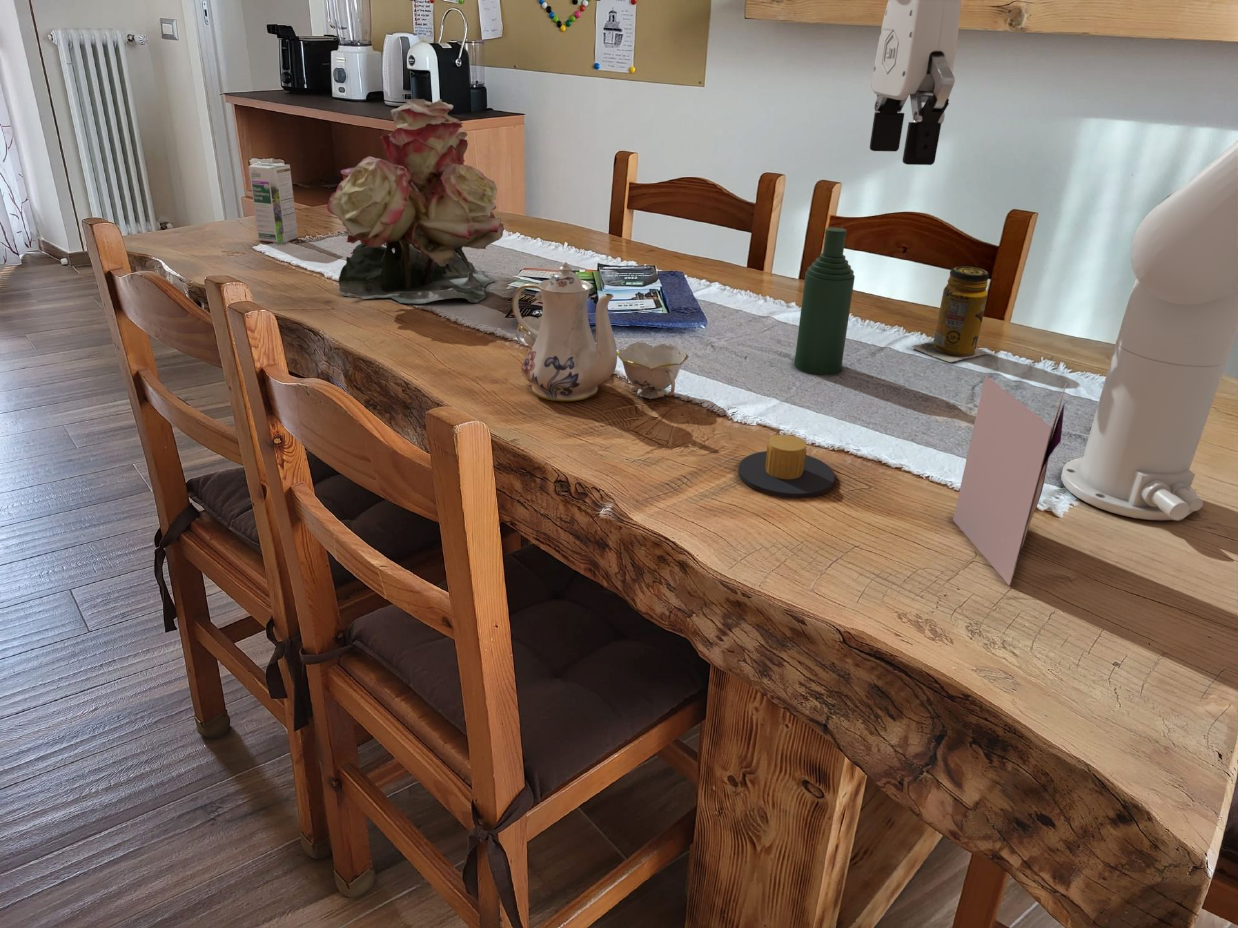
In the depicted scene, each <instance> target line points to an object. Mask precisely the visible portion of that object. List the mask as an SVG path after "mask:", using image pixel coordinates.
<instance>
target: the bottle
mask: <svg viewBox="0 0 1238 928" xmlns="http://www.w3.org/2000/svg"><path fill="white" fill-rule="evenodd" d="M847 233H848V231H847V229H846V228H842V227H834V226H831V227H829V226H828V227H826V228H825V231H824V241H823V249H822V253H820V254H819V256H818V257H816V258H815V260H814V261H813V262H811V265H809V266H808V267H807V270H806V271H805V274H804V283H803V290H802V291H803V292H802V297H801V298H802V299H801V306H800V307H801V308H800V315H799V323H798V331H797V337H796V338H797V340H796V347H795V356H794V367H795V369H797V370H798V371H801V372H803V373H805V374H810V375H815V376H816V375H818V376H829V375H831V376H832V375H835V374H838V373H840V372H841V371H842V365H843V358H844V351H845V345H846V340H847V331H848V325H849V320H850V319H849V318H850V311H851V304H852V299H853V298H852V297H853V291H854V285H855V278H856V276H855V275H854V274H855V272H854V270H853V268H852V266H851V265H850V264H849V260H848V259H846V255H845V254H844V251H845V245H846V244H845V243H846V237H847Z"/></svg>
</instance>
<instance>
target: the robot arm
mask: <svg viewBox="0 0 1238 928" xmlns="http://www.w3.org/2000/svg"><path fill="white" fill-rule="evenodd" d="M961 7H962V0H888V1H887V4H886V8H885V11H884V15H883V19H882V24H881V29H880V33H879V38H878V42H877V43H878V44H877V48H876V54H875V59H874V66H873V71H872V77H871V84H870V88H871V90H872V92H873V94H875V95H876V100H875V102H874V115H873V122H872V129H871V135H870V141H869V149H870V151H872V152H898V151H899V150H900V146H901V145H900V144H901V138H902V132H903V127H904V126H903V125H904V120H905V113H904V112H902V110H903V108H904V107H905V104H906V102H907V101H908V98H909V99H910V100H909V101H910V105H911V107H910V108H911V114H912V115H911V116H912V121H908V124H907V131H906V136H905V141H904V142H905V143H904V148H903V155H902V163H903V164H904V165H909V166H932V165H934V164H935V161H936V156H937V150H938V145H939V140H940V133H941V128H942V124H943V123H944V120H945V117H946V116H945V111H946V109H947V108H948V106H949V104H950V103H949V101H950V98H949V97H950V95H951V93H952V91H953V87H954V85H955V81H956V80H955V79H956V78H955V76H954V74H953V71H954V65H955V59H956V53H957V46H958V38H959V31H960V29H959V28H960V21H961ZM923 103H924V104H923ZM1130 262H1131V263H1130V264H1131V268H1132V271H1133V274H1134V276H1135V280H1134V283H1133V286H1132V289H1131V291H1130V295H1129V298H1128V302H1127V304H1126V308H1125V311H1124V314H1123V316H1122V317H1123V318H1122V320H1121V325H1120V328H1119V331H1118V335H1117V338H1116V341H1115V344H1114V346H1113V347H1114V348H1113V351H1112V355H1111V358H1110V361H1109V366H1108V369H1107V372H1106V375H1105V379H1104V382H1103V385H1102V390H1101V393H1100V397H1099V400H1098V404H1097V407H1096V410H1095V414H1094V417H1093V421H1092V424H1091V429H1090V431H1089V434H1088V438H1087V442H1086V445H1085V449H1084V453H1083V456H1081V457H1077V458H1075V459H1071V460H1069V461H1068V462H1066V463H1065V465H1064V466H1063V468H1062V471H1061V475H1060V478H1061V483H1062V484H1063V486H1064V487H1065V488H1066V489H1067V490H1068V491H1069V493H1071V494H1072V495H1073V496H1075V497H1076V498H1077V499H1080V500H1081V501H1083V502H1085V503H1087V504H1089V505H1091V506H1093V507H1096V508H1097V509H1101V510H1103V511H1105V512H1109V513H1112V514H1116V515H1119V516H1124V517H1129V518H1133V519H1137V520H1138V519H1139V520H1147V521H1182V520H1184V519H1185V518H1186V517H1187V516H1189V515H1191V514H1192V513H1194V512H1196V511H1197V512H1198V511H1199V510H1201V509H1202V507H1204V501H1203V499H1202V498H1200V497H1198V495H1197V492H1196V491H1195V490H1194V488H1193V487H1192V484H1193V482H1194V478H1195V476H1196V473H1194V472H1193V471H1191V470H1190V469H1191V466H1192V463H1193V460H1194V457H1195V455H1196V452H1197V449H1198V446H1199V443H1200V440H1201V438H1202V435H1203V431H1204V429H1205V426H1206V423H1207V420H1208V418H1209V413H1210V411H1211V409H1212V405H1213V402H1214V399H1215V397H1216V394H1217V391H1218V388H1219V385H1220V382H1221V380H1222V377H1223V374H1224V371H1225V368H1226V365H1227V363H1228V361H1229V358H1230V355H1231V352H1232V349H1233V347H1234V343H1235V341H1236V338H1237V335H1238V140H1237V141H1235V142H1234V143H1232V145H1230V146H1229V147H1228V148H1226V150H1224V151H1223V152H1222V153H1221V154H1219V155H1218V156H1217V157H1215V158H1214V159H1213V160H1212V161H1211V162H1210V163H1208V164H1207V165H1205V167H1203V168H1202V169H1201V170H1200V171H1198V172H1197V173H1195V175H1193V177H1191V178H1190V179H1189V180H1187V181H1186V182H1185V183H1184V184H1183V185H1181V186H1180V187H1178V188H1177V189H1175V190H1174V191H1172V192H1171V193H1170V194H1169V195H1167V196H1166V197H1165V198H1163V199H1162V200H1161V201H1160V202H1159V203H1158V204H1157V205H1156V206H1154V208H1152V209H1151V210H1150V211H1149V212H1148V213H1147V215H1146V216H1145V217H1144V218H1143V219H1142V221H1141V222H1140V224H1139V225H1138V227H1137V229H1136V231H1135V233H1134V236H1133V239H1132V243H1131V248H1130Z"/></svg>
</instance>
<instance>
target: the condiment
mask: <svg viewBox="0 0 1238 928" xmlns="http://www.w3.org/2000/svg"><path fill="white" fill-rule="evenodd" d="M989 278H990V273H989V272H988V271H987V270H986V269H983V268H979V267H973V266H962V265H961V266H955V267H952V268H951V269H950V271H949V277H948V280H947V284H946V286H945V287H944V288H943V292H942V296H941V301H940V307H939V312H938V315H937V321H936V325H935V332H934V336H933V341H932V342H923V343H920V344H914V345H911V346H910V347H911V348H913V349H915V350H916V351H919V352H921V353H923V354H925V355H929V356H931V357H932V358H937V359H940V360H942V361H945V362H949V363H953V362H958V361H963V360H964V359H965V360H966V359H972V358H975V357H980V356H982V355H983V356H984V355H986V354H988V352H987V351H985V350H981V349H977V347H978V341H979V338H980V332H981V328H982V322H983V318H984V314H985V309H986V305H987V300H988V293H989V292H988V291H987V287H988V281H989Z"/></svg>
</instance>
